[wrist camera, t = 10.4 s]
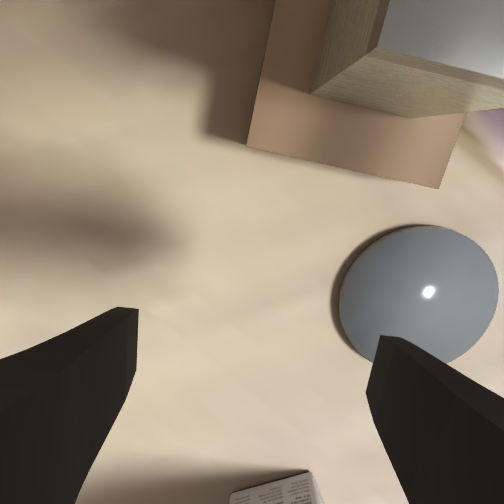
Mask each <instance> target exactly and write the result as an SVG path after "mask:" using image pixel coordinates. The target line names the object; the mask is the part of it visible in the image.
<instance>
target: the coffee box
mask: <svg viewBox="0 0 504 504" xmlns="http://www.w3.org/2000/svg"><path fill="white" fill-rule="evenodd" d="M229 504H324V502H323V499H322V497H321V494H320V492H319V490H318V487H317V485H316V482H315V479H314V477H313V475H312V473H311V472H308V473H304V474H300V475H296V476H293V477H289V478H286V479H282V480H278V481H275V482H271V483H267V484H264V485H260V486H256V487H253V488H249V489H245V490H242V491H238V492H234V493H232V494H231V495H230V498H229Z"/></svg>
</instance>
